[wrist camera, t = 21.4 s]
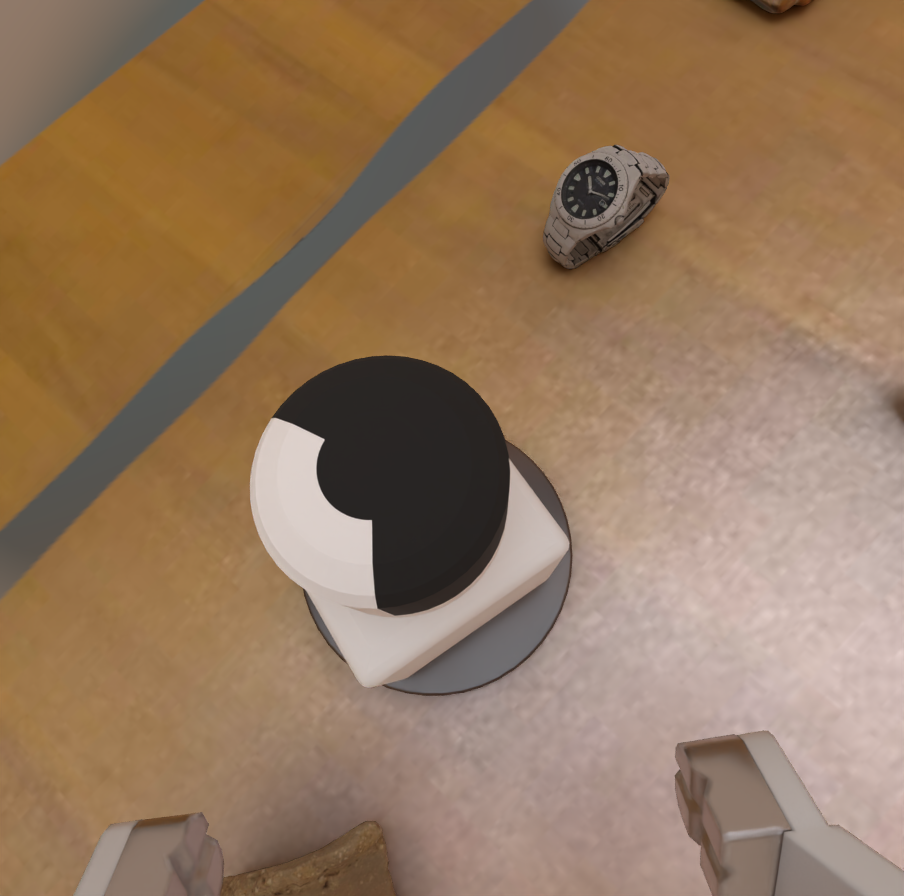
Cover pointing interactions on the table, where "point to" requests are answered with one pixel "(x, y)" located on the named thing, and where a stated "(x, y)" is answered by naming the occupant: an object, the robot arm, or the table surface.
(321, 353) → the table surface
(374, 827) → the pottery shard
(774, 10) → the ornament
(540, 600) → the round disc
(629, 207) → the wristwatch
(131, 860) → the robot arm
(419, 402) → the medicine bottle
